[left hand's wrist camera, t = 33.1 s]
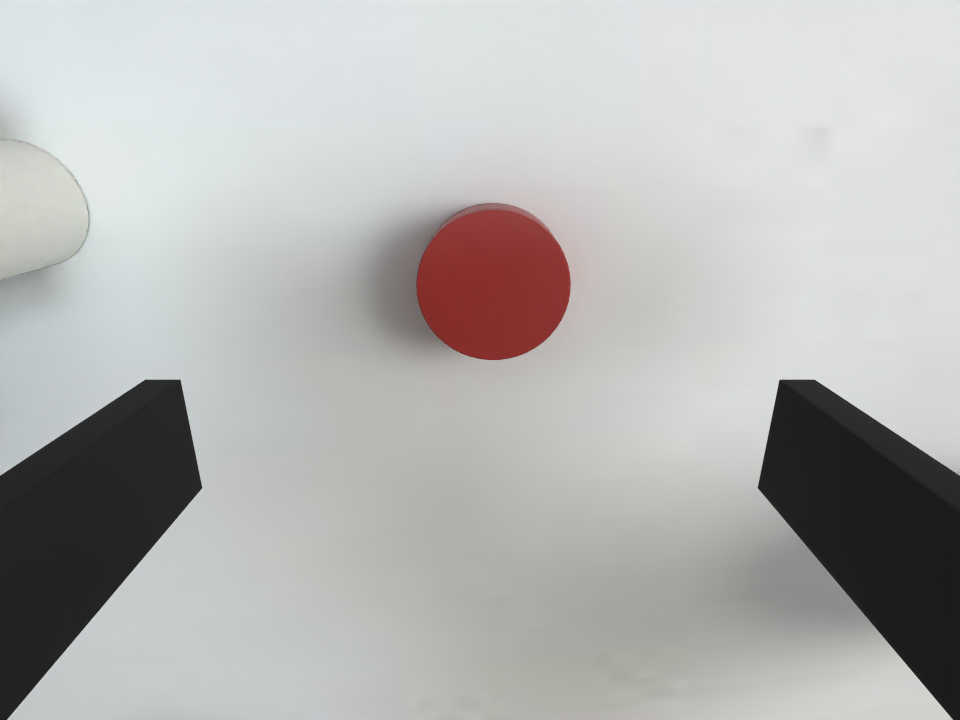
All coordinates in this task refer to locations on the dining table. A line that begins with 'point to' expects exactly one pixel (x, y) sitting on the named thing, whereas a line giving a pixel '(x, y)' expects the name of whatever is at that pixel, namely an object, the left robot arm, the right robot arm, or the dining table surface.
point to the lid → (493, 282)
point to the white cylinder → (37, 210)
